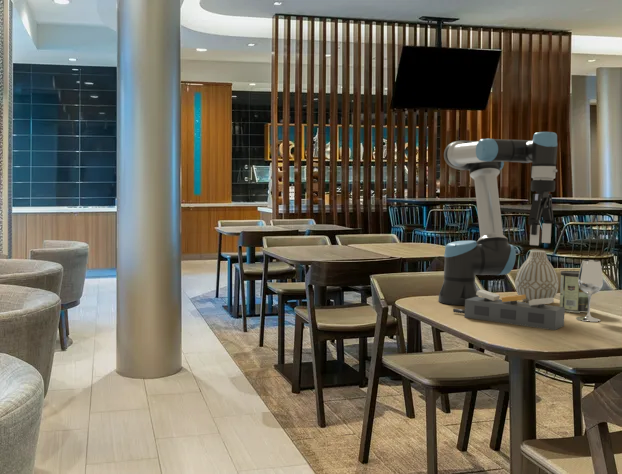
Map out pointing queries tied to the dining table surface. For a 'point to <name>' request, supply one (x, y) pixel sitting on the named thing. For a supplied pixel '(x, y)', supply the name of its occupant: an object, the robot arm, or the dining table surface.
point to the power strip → (514, 313)
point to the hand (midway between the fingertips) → (540, 244)
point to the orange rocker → (513, 298)
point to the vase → (536, 277)
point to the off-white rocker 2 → (541, 301)
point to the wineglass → (590, 283)
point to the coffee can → (572, 293)
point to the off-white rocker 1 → (488, 295)
